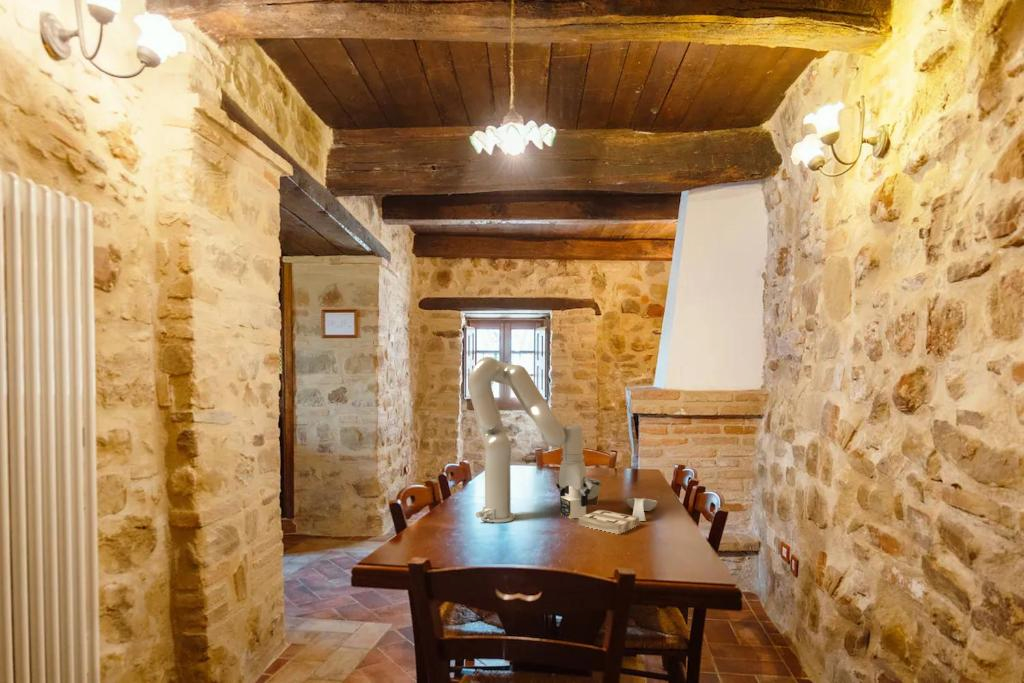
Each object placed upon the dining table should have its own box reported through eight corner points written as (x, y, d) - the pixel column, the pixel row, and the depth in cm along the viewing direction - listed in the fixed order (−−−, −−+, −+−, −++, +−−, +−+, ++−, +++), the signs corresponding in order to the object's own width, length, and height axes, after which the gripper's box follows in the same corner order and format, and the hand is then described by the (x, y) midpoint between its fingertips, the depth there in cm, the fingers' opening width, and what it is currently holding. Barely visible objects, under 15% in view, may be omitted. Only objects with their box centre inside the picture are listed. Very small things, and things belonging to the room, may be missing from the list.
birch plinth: (618, 534, 183) (618, 525, 183) (578, 525, 193) (578, 516, 194) (639, 525, 193) (639, 516, 193) (600, 517, 204) (600, 508, 204)
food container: (600, 502, 227) (600, 477, 228) (601, 505, 221) (601, 480, 222) (570, 501, 229) (570, 477, 229) (570, 505, 222) (570, 480, 223)
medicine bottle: (560, 515, 208) (559, 483, 208) (575, 512, 211) (575, 481, 211) (570, 519, 201) (569, 486, 202) (586, 517, 204) (586, 484, 205)
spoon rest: (627, 505, 222) (627, 487, 223) (657, 507, 219) (657, 489, 220) (623, 521, 200) (622, 501, 200) (656, 523, 197) (656, 503, 197)
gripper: (548, 456, 210) (549, 502, 209) (586, 461, 199) (587, 509, 198) (560, 454, 216) (561, 498, 215) (597, 458, 204) (598, 505, 203)
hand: (573, 503), depth 206 cm, fingers closed on medicine bottle, 9 cm apart
